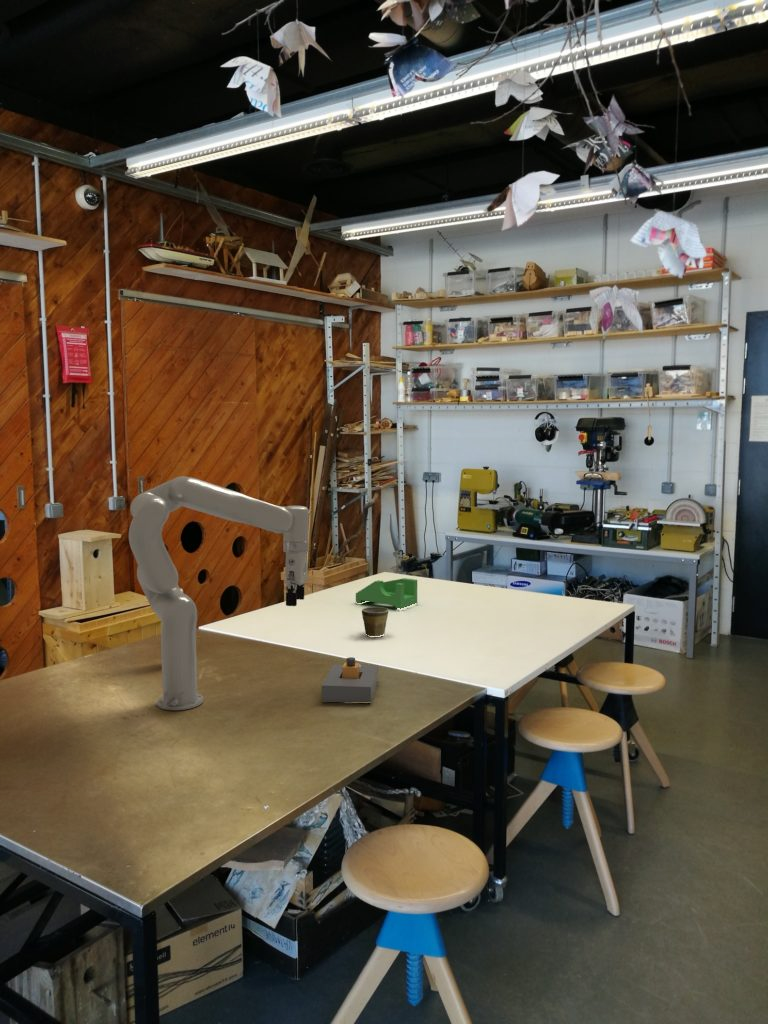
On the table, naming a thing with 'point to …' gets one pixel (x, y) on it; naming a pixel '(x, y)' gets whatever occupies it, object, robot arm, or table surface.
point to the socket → (350, 685)
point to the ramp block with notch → (390, 592)
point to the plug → (350, 669)
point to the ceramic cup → (375, 620)
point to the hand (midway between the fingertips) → (295, 602)
